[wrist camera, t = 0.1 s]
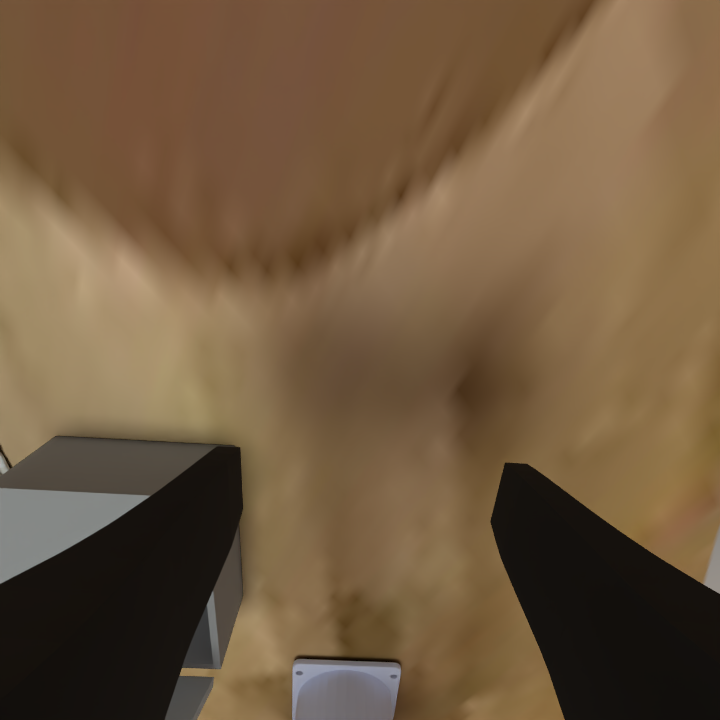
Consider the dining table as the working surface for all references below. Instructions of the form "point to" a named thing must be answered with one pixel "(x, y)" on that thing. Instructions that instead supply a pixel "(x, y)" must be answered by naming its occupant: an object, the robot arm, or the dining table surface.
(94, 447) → the carton
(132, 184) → the dining table surface
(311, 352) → the dining table surface
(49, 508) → the near flap
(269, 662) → the dining table surface
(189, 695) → the far flap
